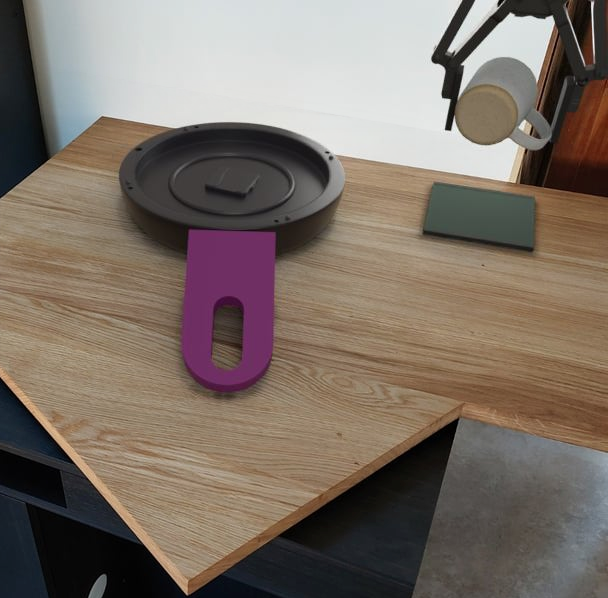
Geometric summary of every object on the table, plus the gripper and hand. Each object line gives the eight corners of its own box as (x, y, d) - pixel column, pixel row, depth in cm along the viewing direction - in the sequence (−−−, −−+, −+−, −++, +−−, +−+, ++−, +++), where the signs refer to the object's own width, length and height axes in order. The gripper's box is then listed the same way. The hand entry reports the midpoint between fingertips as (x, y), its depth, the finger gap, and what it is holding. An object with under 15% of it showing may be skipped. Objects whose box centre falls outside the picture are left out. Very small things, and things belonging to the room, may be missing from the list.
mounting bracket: (268, 415, 85) (272, 271, 92) (272, 386, 77) (276, 232, 84) (182, 411, 86) (192, 268, 92) (177, 382, 78) (189, 229, 84)
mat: (533, 200, 110) (535, 196, 109) (532, 252, 100) (534, 247, 99) (433, 185, 112) (434, 181, 112) (422, 234, 103) (423, 230, 102)
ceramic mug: (444, 141, 89) (459, 73, 83) (464, 115, 94) (479, 49, 89) (539, 163, 85) (561, 94, 80) (553, 134, 90) (575, 68, 85)
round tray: (363, 178, 114) (176, 143, 122) (369, 139, 110) (174, 105, 117) (303, 289, 93) (81, 238, 101) (307, 246, 89) (76, 197, 97)
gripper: (429, -88, 74) (394, 133, 89) (693, -71, 70) (610, 159, 84) (435, -103, 80) (401, 107, 94) (681, -88, 75) (605, 130, 90)
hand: (500, 132), depth 89 cm, fingers closed on ceramic mug, 11 cm apart
